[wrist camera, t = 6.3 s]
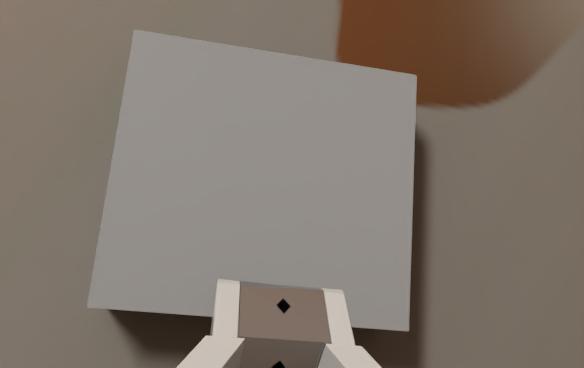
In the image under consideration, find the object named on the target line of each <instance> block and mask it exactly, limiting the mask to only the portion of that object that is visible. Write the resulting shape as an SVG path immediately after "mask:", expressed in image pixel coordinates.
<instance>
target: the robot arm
mask: <svg viewBox="0 0 584 368" xmlns="http://www.w3.org/2000/svg"><path fill="white" fill-rule="evenodd" d="M176 368H382V367H381V366H380V365H379V364H378V363H377V362H376V361H375V360H374V359H373V358H372V357H371V356H370V354H369V353H368V352H367V351H366V350H365V349H364V348H363V347H362V346H356V345H355V340H354V335H353V331H352V326H351V322H350V317H349V312H348V308H347V303H346V298H345V294H344V292H343V291H342V290H340V289H326V288H313V287H300V286H287V285H273V284H264V283H255V282H247V281H240V282H239V281H233V280H225V279H218V282H217V288H216V295H215V302H214V309H213V317H212V324H211V332H210V336H207V335H206V336H205V337H204V338H203V339H202V340H201V341H200V342H199V343H198V345H197V346H196V347H195V348H194V349H193V350H192V351H191V352H190V353H189V354H188V355H187V357H186V358H185V359H184V360H183V361H182V362H181V363H180V364H179V365H178V366H177V367H176Z"/></svg>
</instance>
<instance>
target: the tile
mask: <svg viewBox="0 0 584 368" xmlns="http://www.w3.org/2000/svg"><path fill="white" fill-rule="evenodd" d="M416 84H417V75H413V74H407V73H400V72H394V71H388V70H382V69H376V68H369V67H363V66H357V65H351V64H345V63H339V62H332V61H326V60H320V59H314V58H308V57H302V56H295V55H289V54H283V53H277V52H271V51H264V50H258V49H252V48H246V47H240V46H234V45H227V44H221V43H215V42H209V41H203V40H197V39H190V38H184V37H178V36H172V35H166V34H159V33H153V32H147V31H141V30H135V29H134V33H133V39H132V45H131V51H130V57H129V63H128V68H127V74H126V80H125V86H124V92H123V98H122V104H121V109H120V115H119V121H118V127H117V133H116V139H115V144H114V150H113V156H112V162H111V168H110V174H109V180H108V185H107V191H106V197H105V203H104V209H103V215H102V221H101V226H100V232H99V238H98V244H97V250H96V256H95V262H94V267H93V273H92V279H91V285H90V291H89V297H88V302H87V308H100V309H114V310H127V311H141V312H154V313H168V314H181V315H195V316H208V317H213V309H214V302H215V295H216V288H217V282H218V279H225V280H233V281H239V282H240V281H247V282H255V283H264V284H273V285H287V286H300V287H313V288H326V289H340V290H342V291H343V292H344V294H345V298H346V303H347V308H348V312H349V317H350V322H351V326H352V327H356V328H369V329H383V330H396V331H409V314H410V281H411V249H412V216H413V183H414V151H415V118H416Z"/></svg>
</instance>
